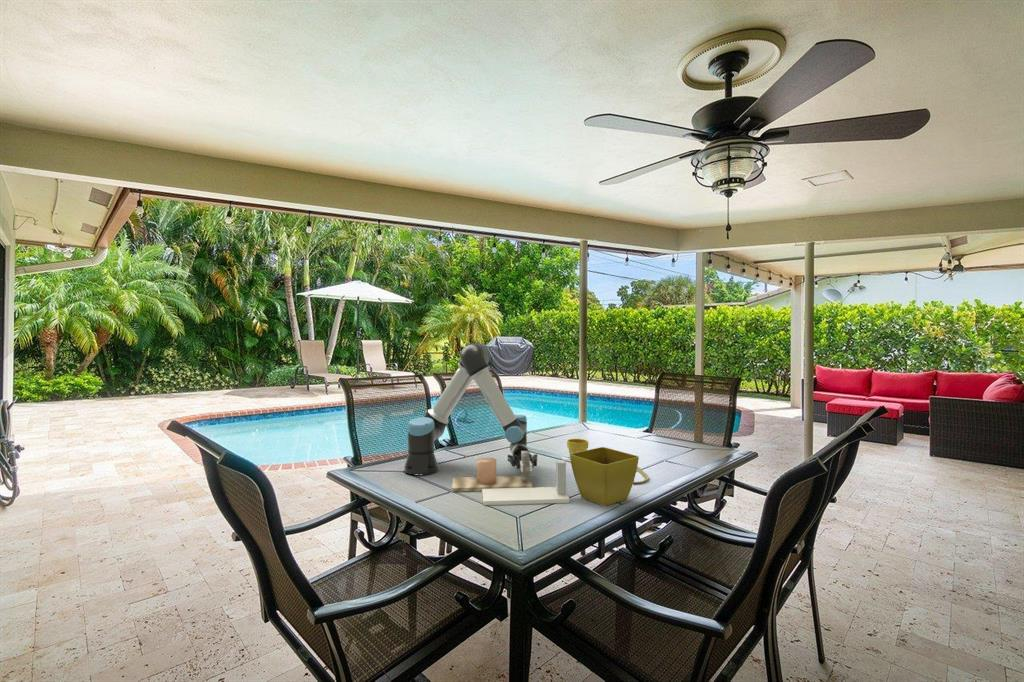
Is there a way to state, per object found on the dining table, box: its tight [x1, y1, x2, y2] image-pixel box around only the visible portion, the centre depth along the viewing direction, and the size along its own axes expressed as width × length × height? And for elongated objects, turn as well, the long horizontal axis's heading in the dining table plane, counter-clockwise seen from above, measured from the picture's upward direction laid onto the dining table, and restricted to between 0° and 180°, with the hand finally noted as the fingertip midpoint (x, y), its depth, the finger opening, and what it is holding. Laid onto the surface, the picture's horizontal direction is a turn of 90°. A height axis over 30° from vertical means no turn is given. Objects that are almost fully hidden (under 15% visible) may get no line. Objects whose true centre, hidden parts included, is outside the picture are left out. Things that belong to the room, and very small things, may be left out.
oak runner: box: [451, 450, 533, 493], centre depth 203 cm, size 32×14×14 cm, turn 95°
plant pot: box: [566, 438, 589, 455], centre depth 242 cm, size 10×10×10 cm
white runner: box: [481, 459, 571, 506], centre depth 188 cm, size 32×14×14 cm, turn 95°
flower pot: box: [569, 446, 640, 507], centre depth 187 cm, size 19×19×17 cm
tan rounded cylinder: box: [476, 457, 497, 485], centre depth 203 cm, size 8×8×9 cm
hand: (526, 468), depth 198 cm, fingers closed on oak runner, 3 cm apart
